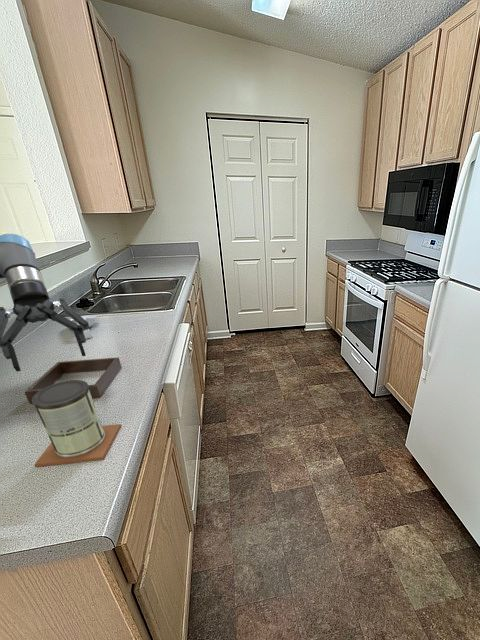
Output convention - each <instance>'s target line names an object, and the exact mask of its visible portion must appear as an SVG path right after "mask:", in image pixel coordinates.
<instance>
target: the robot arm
mask: <svg viewBox="0 0 480 640" xmlns="http://www.w3.org/2000/svg"><path fill="white" fill-rule="evenodd" d="M0 279H5V281H6V284H7V287H8V290H9V294H10V297H11V301H12V303H13V307H12V308H5V307H4V306H0V348H1V351H2V355H3V357H4V358H5V359H6V360H11V364H12V367H13V369H14V370H15V371H16V372H21V366H20V364H19V360H18V357H17V354H16V351H15V347H14V345H13V342H14V340H15V339H16V338H17V337H18V335H19V334H20V333H21V332H22V330H23V328H24V327H26V326H27V325H28V324H29V323H32V324H34V323H37V322H46V321H47V320H48V319H49V320H51V321H53V322H56V323H58V324H60V325H62V326H64V327H66V328H67V329H69V330H71V331H73V333H74V335H75V339H76V342H77V346H78V348H79V351H80V354H81V357H86V356H87V355H86V352H85V349H84V345H83V344H85V343H87V340H86V339H87V338H86V339H85V336H84V333H83V331H84V330H88V329H89V330H90V327H89V324H88V322H87V321H86V320H85V319H83V318H82V315H80V314H79V313H77V311H75V310H74V308H72V307H71V306H69V305H68V303H67V302H66V299H65V298H63V297H61V298H59V299H58V301H57V300H56V301H52V300H51V297H50V296H49V293H48V289H47V287H46V284H45V281H44V278H43V275H42V273H41V269H40V267H39V264H38V260H37V258H36V253H35V252H34V249H33V247H32V245H31V243H30V241H29V240H28V239H27V238H25V237H24V236H22V235H19V234H17V233H4V234H0ZM55 308H58V309H59V310H61V311H62V310H63V312H64V313H65V314H66V315H68V316H69V317H70V318H67V317H66V316H63V315H61V314H59V313H58V312H57V311H55ZM14 314H15V315H16V317H15V320H14V321H13V322H12V324H11V325H10V327H9V328H8V329H7V331H6V328H7V325H8V322H9V319H10V318H11V317H12V316H13V315H14ZM70 319H73V320H75V321H76V322H77V323H78V324H79V325H78V324H76V323H75V322H73V321H71V320H70ZM5 331H6V332H5Z"/></svg>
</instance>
